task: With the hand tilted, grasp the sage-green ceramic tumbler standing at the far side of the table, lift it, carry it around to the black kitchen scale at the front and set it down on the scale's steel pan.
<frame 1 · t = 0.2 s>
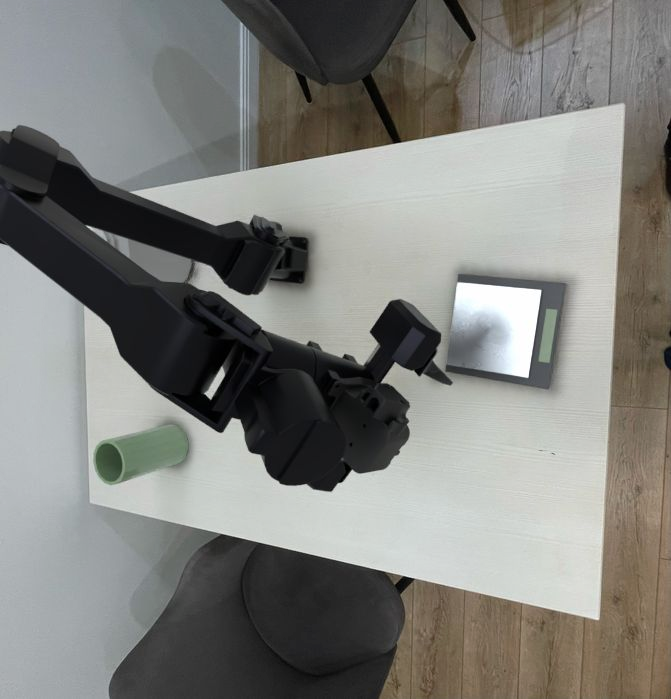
hand: (423, 416, 54), 15 cm above the table, tool tilted 35°, fingers open, 9 cm apart
scale: (504, 329, 64), on the table
tumbler: (173, 443, 90), on the table
jar: (173, 262, 88), on the table
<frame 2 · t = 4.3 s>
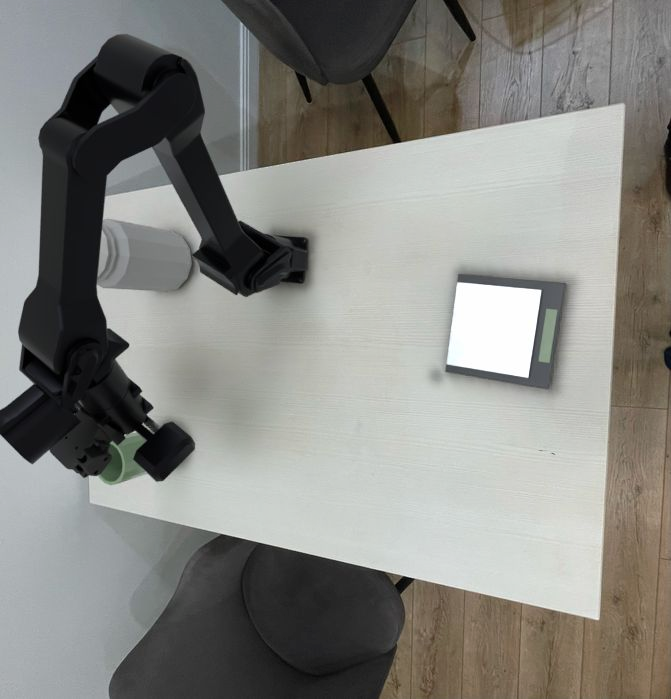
hand: (148, 445, 74), 14 cm above the table, tool tilted 45°, fingers open, 9 cm apart
nothing on the table moved.
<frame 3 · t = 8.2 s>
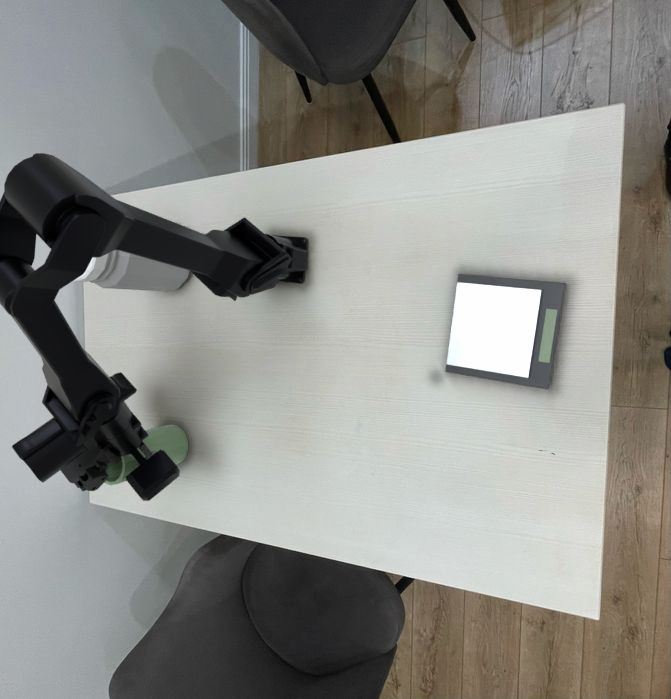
hand: (138, 458, 85), 7 cm above the table, tool tilted 45°, fingers closed on tumbler, 7 cm apart
tumbler: (173, 443, 90), on the table, touching gripper
everything else where it was.
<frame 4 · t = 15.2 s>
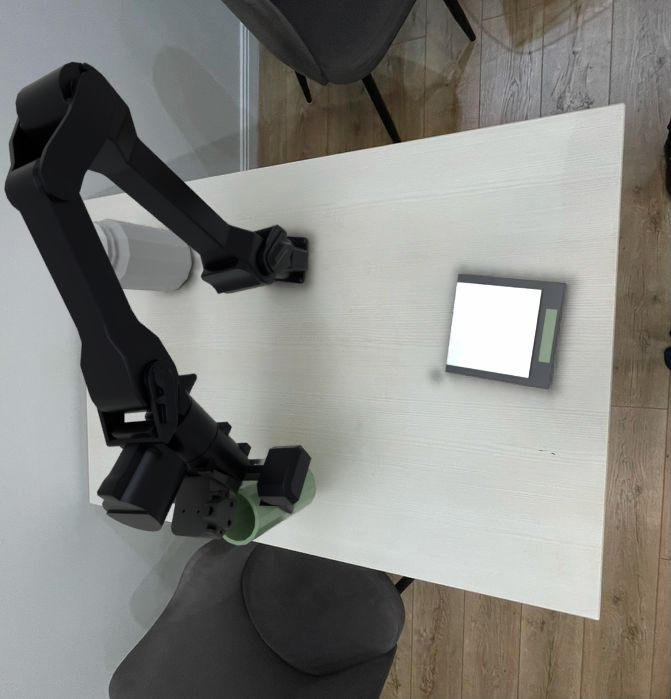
hand: (268, 509, 66), 12 cm above the table, tool tilted 45°, fingers closed on tumbler, 7 cm apart
tumbler: (295, 484, 72), point 6 cm above the table, touching gripper
everything else where it was.
when the fingers open (9 cm above the table, at t = 22.1 s): tumbler stays where it is, resting on scale.
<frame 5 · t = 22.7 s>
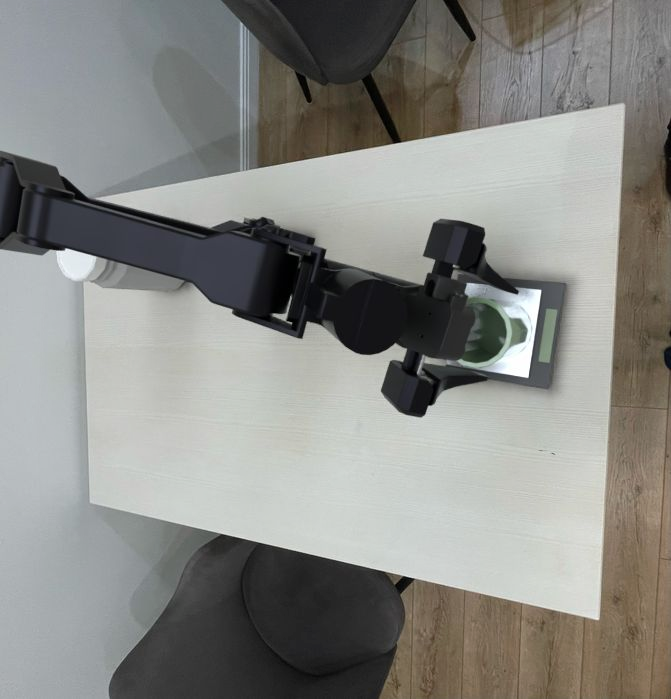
hand: (501, 335, 55), 10 cm above the table, tool tilted 45°, fingers open, 9 cm apart
tumbler: (501, 329, 62), point 3 cm above the table, touching scale
everything else where it was.
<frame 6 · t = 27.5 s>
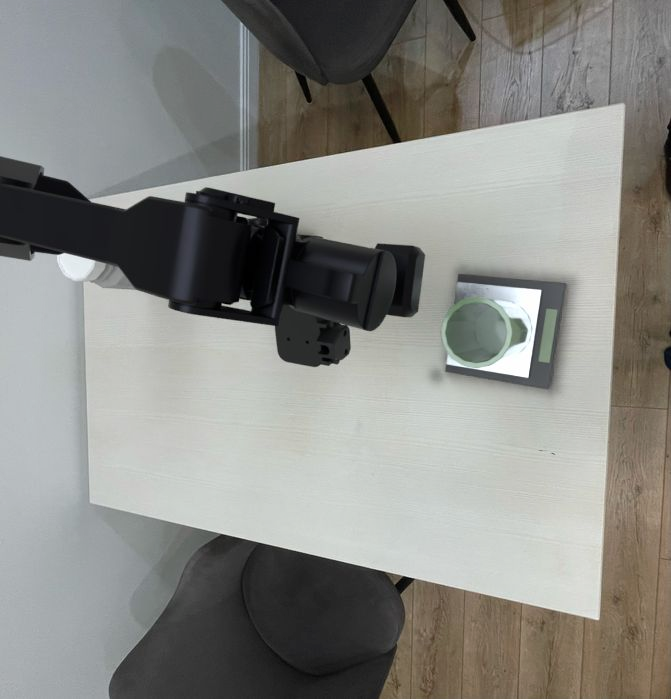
hand: (361, 279, 58), 13 cm above the table, tool pointing down, fingers open, 9 cm apart
nothing on the table moved.
at the end: tumbler inside the target area on the scale (1.1 cm from its centre), point 2.6 cm above the scale's base; tumbler tilted 0°; the gripper is holding nothing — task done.
